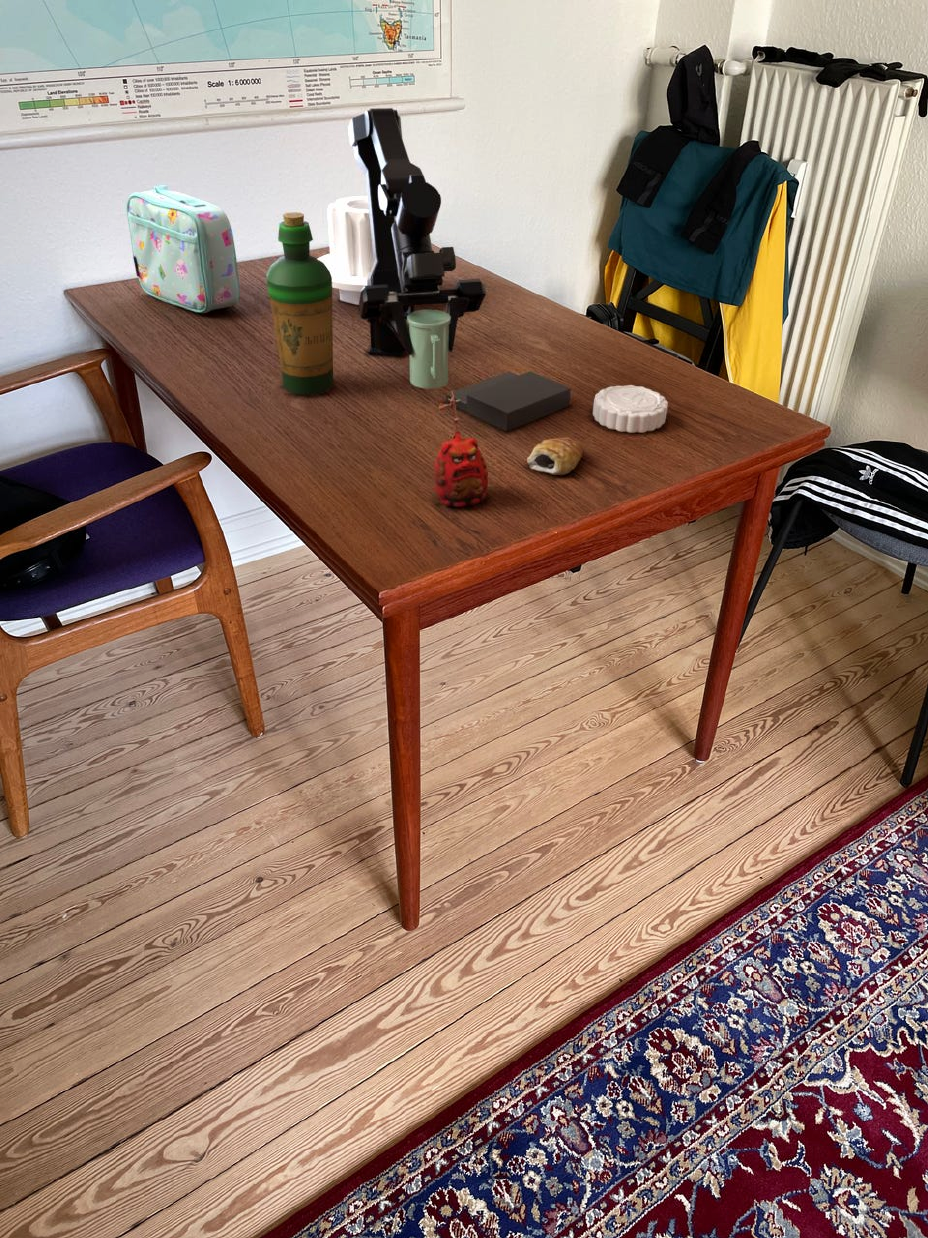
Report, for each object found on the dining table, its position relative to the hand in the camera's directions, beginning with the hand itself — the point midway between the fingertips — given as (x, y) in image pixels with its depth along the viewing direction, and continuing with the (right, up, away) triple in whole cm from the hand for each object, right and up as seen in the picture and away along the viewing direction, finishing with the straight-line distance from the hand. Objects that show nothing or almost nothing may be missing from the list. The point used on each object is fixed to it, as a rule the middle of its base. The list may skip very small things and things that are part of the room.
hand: (430, 352), depth 137 cm
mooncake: (+32, -7, +13) cm, 36 cm away
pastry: (+19, -17, 0) cm, 25 cm away
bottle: (-22, 0, +20) cm, 30 cm away
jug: (0, -4, +3) cm, 5 cm away
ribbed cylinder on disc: (-15, +28, +57) cm, 65 cm away
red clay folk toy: (+4, -23, -9) cm, 25 cm away
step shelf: (+12, -4, +16) cm, 21 cm away
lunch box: (-53, +26, +53) cm, 80 cm away
